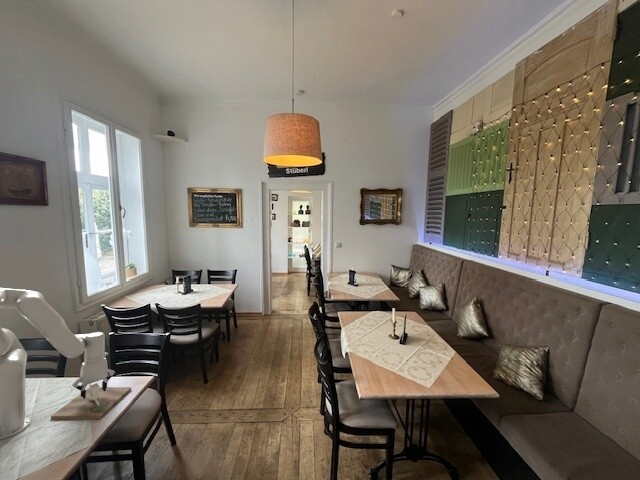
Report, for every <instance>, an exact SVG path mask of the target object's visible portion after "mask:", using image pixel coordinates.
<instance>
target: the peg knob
mask: <svg viewBox="0 0 640 480" xmlns="http://www.w3.org/2000/svg"><path fill="white" fill-rule="evenodd" d="M89 387H90V392H89V395H90V400H91V401H93V400H94V401H95V403H96V404H97V406H99V405H100V404H99V402H98V400H97V399H98V398H99V387H100V385H99V384H98V381H96V382H93V383H90V384H89Z"/></svg>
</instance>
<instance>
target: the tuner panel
mask: <svg viewBox="0 0 640 480" xmlns="http://www.w3.org/2000/svg"><path fill="white" fill-rule="evenodd" d="M85 390H86V398H85V399H83V397H81V393H80V394H79V395H77V396H75V397H74V398H73V399H72V400H70V401H69V402H68V403H66V404H65V405H64V406H62V407H61V408H60V409H58V410H57V411H55V412H54V413H52V415H50V419H51V420H101V419H102V418H103V417H104V416H105V415H106V414H107V413H108V412H110V410H113V408H114V407H115V406H116V405H117V404H118V403H119V402H120V401H121V400H122V399H124V397H126V396H127V395H128V394H129V393H130V392H131V391H132V387H131V386H130V387H129V386H128V387H127V386H124V387H122V386H121V387H120V386H119V387H117V386H116V387H115V386H112V387H110V386H107V388H106V391H103V390H102V386H101V387H100V386H99V398H98V399H97V400H98V402H99V404H100V405H99V406H97V404H96V403H95V401H94V400H93V401H91V400H90V395H89V392H90V386H89V387H87V388H86V389H85Z"/></svg>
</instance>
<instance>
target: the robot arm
mask: <svg viewBox="0 0 640 480" xmlns="http://www.w3.org/2000/svg"><path fill="white" fill-rule="evenodd" d="M0 309H13V310H14V309H15V310H16V311H17V312H18V314H20V315H21V316H22V317H23V318H24V319H25V320H27V321H28V322H29V323H30V324H31V325H32V326H33V327H34V328H35V329H37V331H38V332H39V333H40V334H41V335H42V336H43V338H45V339H46V340H47V341H48V342H49V343H50V344H51V345H52V347H54V348H55V349H56V351H58V352H59V353H60V354H61V355H62V356H64V357H65V358H69V359H74V358H77V357H79V356H81V355H82V354H83V353H84V360H83V361H84V362H82V363H81V366H80V367H81V368H80V372H79V374H80V375H79V378H78V379H76V381H74V382H73V383H72V387H73V388H75V389H76V390H79V391H80V394H81V397H83V399H85V398H86V390H87V386H88V385H90V383H93V382H99V381H102V380H103V381H102V382H101V384H102V385H101V387H102V390H103V391H106V388H107V387H108V383H109V381H110V380H111V378H112V377H113V375H114V374H115V373H116V371H115V370H113V369H108V361H107V358H106V356H108V355H109V353H108V352H105V341H106V340H105V338H106V336H105V333H104V332H102V331H96V332H95V331H93V332H90V333H84V334H83V333H82V334H74V333H73V332H72V331H71V330H70V328H69V327H68V326H67V324H66V322H65V319H64V318H63V316H61V315H60V313H59V312H57V311H56V310H55V309H54V308H53V307H52V306H51V305H50V304H49V303H48V302H47V301H46V300H45V297H44V295H43V294H42V293H41V292H39V291H36V290H27V289H17V288H16V289H15V288H4V287H0ZM27 360H28V353H27V351H26V349H25V347H24V346H23V345H22V343H21V342H20V340H19V339H18V337H17V336H16V334H15V333H14V332H13V331H12V330H11V329H8V328H5V327H1V326H0V441H2V440H4V439H8V438H10V437H11V438H12V437H14V436H15V435H17V434H20V433H21V432H22V431H24V430H25V429H27V428H28V427H29V426H30V425H31V418H30V417H28V416H26V367H27V366H26V365H27ZM80 383H81V385H79V384H80Z"/></svg>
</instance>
